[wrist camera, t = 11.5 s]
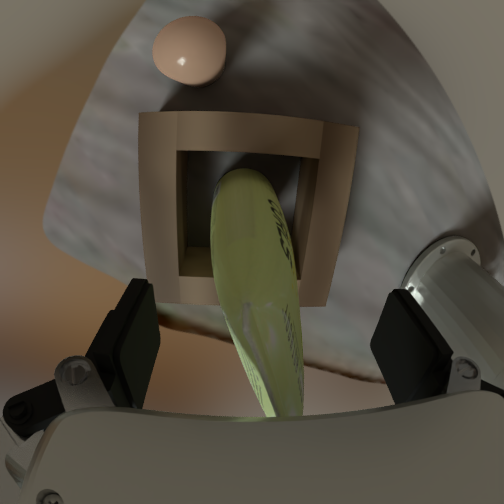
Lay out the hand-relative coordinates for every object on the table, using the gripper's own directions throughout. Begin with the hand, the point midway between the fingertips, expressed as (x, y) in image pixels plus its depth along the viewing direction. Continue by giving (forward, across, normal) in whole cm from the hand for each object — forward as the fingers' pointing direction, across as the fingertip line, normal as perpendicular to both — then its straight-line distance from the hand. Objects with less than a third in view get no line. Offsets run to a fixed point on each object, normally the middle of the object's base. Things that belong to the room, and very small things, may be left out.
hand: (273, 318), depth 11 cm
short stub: (+14, +5, -11) cm, 19 cm away
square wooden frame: (+15, +1, 0) cm, 15 cm away
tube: (+15, +1, 0) cm, 15 cm away
